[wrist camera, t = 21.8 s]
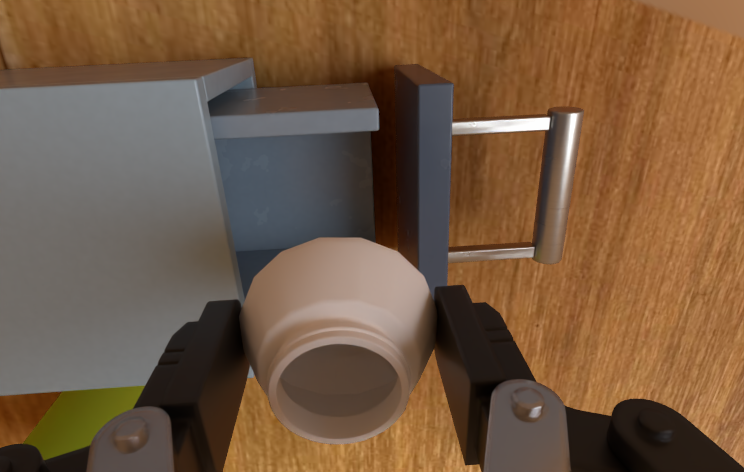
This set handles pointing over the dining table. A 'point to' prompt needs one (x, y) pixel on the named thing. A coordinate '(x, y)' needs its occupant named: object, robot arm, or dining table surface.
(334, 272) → the white jar
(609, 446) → the robot arm
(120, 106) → the drawer unit
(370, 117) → the compartment
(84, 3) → the dining table surface
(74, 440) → the soap dispenser
